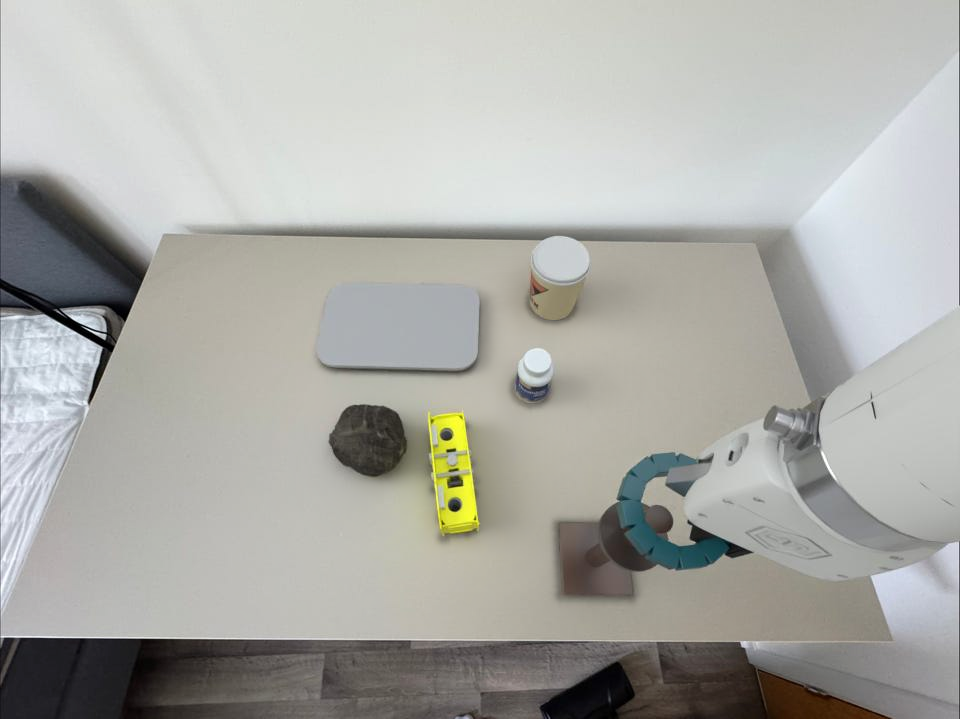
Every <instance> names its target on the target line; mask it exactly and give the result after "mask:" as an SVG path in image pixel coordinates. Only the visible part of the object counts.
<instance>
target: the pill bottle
mask: <svg viewBox="0 0 960 719" xmlns="http://www.w3.org/2000/svg"><path fill="white" fill-rule="evenodd" d="M552 361H553V360H552V356H551V354H550V353H549V351H547V350H545V349H544V348H541V347H535V348H531V349H529V350H528V351H526V353H525V354H524V356H523V357H521V359H520V360H519V362H518V365H517V370H516V376H515V381H514V391H515V393H516V394H515V395H516V396H517V397H518V398H519V399H520V400H521V401H523V402H525V403H528V404H538V403H541V402H542V401H544V400H545V398H546V397H547V396H548V393H549V391H550V388H551V385H552V381H553V378H554V374H555V366H554V363H553V362H552Z"/></svg>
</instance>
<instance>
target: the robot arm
mask: <svg viewBox="0 0 960 719" xmlns="http://www.w3.org/2000/svg"><path fill="white" fill-rule="evenodd" d="M695 459H696V461H697V463H698V464H694V465H687V466H680V467H673V468H669V472H668V475H667V477H666V479H665V483H664V486H665V487H666V488H668V489H669V490H672V491H673V492H674V493H676V494H678V495H680V496H681V497H683V498H684V500H683V505H682V506H683V507H682V513H683V515H684V516H685V518H686V519H687V521H686V522H687V525H689V526H691V530H690V533H689V539H688V540H690V541H692V542H694V543H697V542H700V541H702V540H707V539H710V538H712V537H715V536H718V537H720V538H723V539H725V540H727V541H729V542H732V544H729V545H728V546H729V547H730V549H729V550H728V551H727V552H726V553H725V554H724V556H726V557H728V558H730V559H735V558H740V557H743V556H746V555H747V556H748V555H751V554H754V553H755V554H757V555H759V556H761V557H763V558H766V559H768V560H770V561H773V562H775V563H777V564H780V565H782V566H785V567H787V568H789V569H792V570H794V571H796V572H799V573H801V574H803V575H807V576H809V577H812V578H815V579H817V580H822V581H826V582H841V581H849V580H856V579H860V578H867V577H871V576H876V575H880V574H885V573H888V572H892V571H896V570H899V569H903V568H906V567H909V566H911V565H914V564H917V563H920V562H921V561H923V560H926V559H928V558H930V557H931V556H933V555H935V554H937V553H938V552H939V551H941V550H942V549H944V548H945V547H947V546H948V545H949V544H953V543H959V542H960V305H958V306H956V307H955V308H953V309H952V310H951V311H949V312H948V313H946V314H944V315H942V316H941V317H940V318H938V319H937V320H935V321H934V322H932V323H931V324H929V325H928V326H926V327H925V328H924V329H922V330H920V331H918V332H917V333H916V334H914V335H912V336H911V337H910V338H908V339H906V340H905V341H904V342H902V343H901V344H899V345H897V347H894V348H893V349H892V350H890V351H888V352H887V353H886V354H884V355H882V356H881V357H879V358H878V359H877V360H875V361H873V362H872V363H871V364H869V365H868V366H866V367H864V368H863V369H861V370H860V371H858V372H857V373H856V374H854V375H853V376H851V377H849V378H848V379H847V380H845V381H843V382H842V383H841V384H839V385H837V386H836V387H834V388H833V389H831V390H830V391H828V392H827V393H825V394H824V395H822V396H819V397H817V398H816V399H814V400H813V401H811V402H809V403H808V404H807V405H805V406H804V407H803V408H801V407H797V409H795V408H790V409H788V408H784V407H781V406H779V405H776V404H774V405H773V406H771V407H770V408H769V410H768V411H767V413H766V415H765V417H762V418H760V419H758V420H755V421H752V422H750V423H748V424H745V425H742V426H741V427H739V428H737V429H735V430H733V431H730V432H729V433H727V434H726V435H724V436H722V437H720V438H718V440H716V441H714V442H713V443H711V444H710V445H708V446H707V447H706V448H704V449H703V450H702V451H701V452H700V453H699V454H698V455H697V456H696V458H695Z"/></svg>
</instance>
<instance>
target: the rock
mask: <svg viewBox="0 0 960 719" xmlns="http://www.w3.org/2000/svg"><path fill="white" fill-rule="evenodd" d="M405 433H406V432H405V428H404V424H403V420H402V419H401V417H400V415H399V413H398V412H397V411H395V410H394V409H392V408H390V407H388V406H385V405H372V404H371V405H370V404H367V403H365V404H361V403H360V404H351V405H349V406H347V407H345V409H343V411H342V412H341V414H340V415H339V419H338V420H337V422H336V424H335V426H334V429H332V432H330V433H329V434H328V444H329V445H330V447H331V450H332V454H333V455H334V457H335V459H336V460H338V462H340V463H341V465H342V466H345V467H347V468H351V469H352V470H354V472H356V473H358V474H360V475H361V476H366V477H372V478H375V477H379V476H382V475H384V474H385V473H389V472H390V471H392V470H393V469H395V468H396V467H397V466H398V465H399V464H400V462H401V460H402V458H403V456H404V455H406V452H407V450H408V439H407V437H406V435H405Z"/></svg>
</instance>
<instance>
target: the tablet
mask: <svg viewBox="0 0 960 719" xmlns="http://www.w3.org/2000/svg"><path fill="white" fill-rule="evenodd" d="M480 302H481V301H480V295H479V293H478V291H477V290H476V289H474V288H473V287H471V286H469V285H466V284H444V283H443V284H442V283H441V284H440V283H406V282H405V283H403V282H365V281H364V282H363V281H362V282H361V281H359V282H358V281H357V282H355V281H345V282H340V283H337V284H336V285H334V286H333V287H332V288H331V289H330V290H329V291H328V293H327V296H326V299H325V305H324V309H323V314H322V319H321V323H320V327H319V329H320V330H319V333H318V339H317V342H316V348H315V351H316V352H315V353H316V356H317V358H318V359H319V361H320V362H321V364H323V365H325V366H327V367H330V368H334V369H360V370H361V369H362V370H395V371H396V370H400V371H402V370H403V371H405V370H406V371H437V372H439V371H440V372H462V371H465V370H467V369H469V368H470V367H472V366H473V365H474V363H476V361H477V358H478V355H479V354H478V353H479V334H480V333H479V332H480V331H479V330H480V329H479V328H480Z"/></svg>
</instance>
